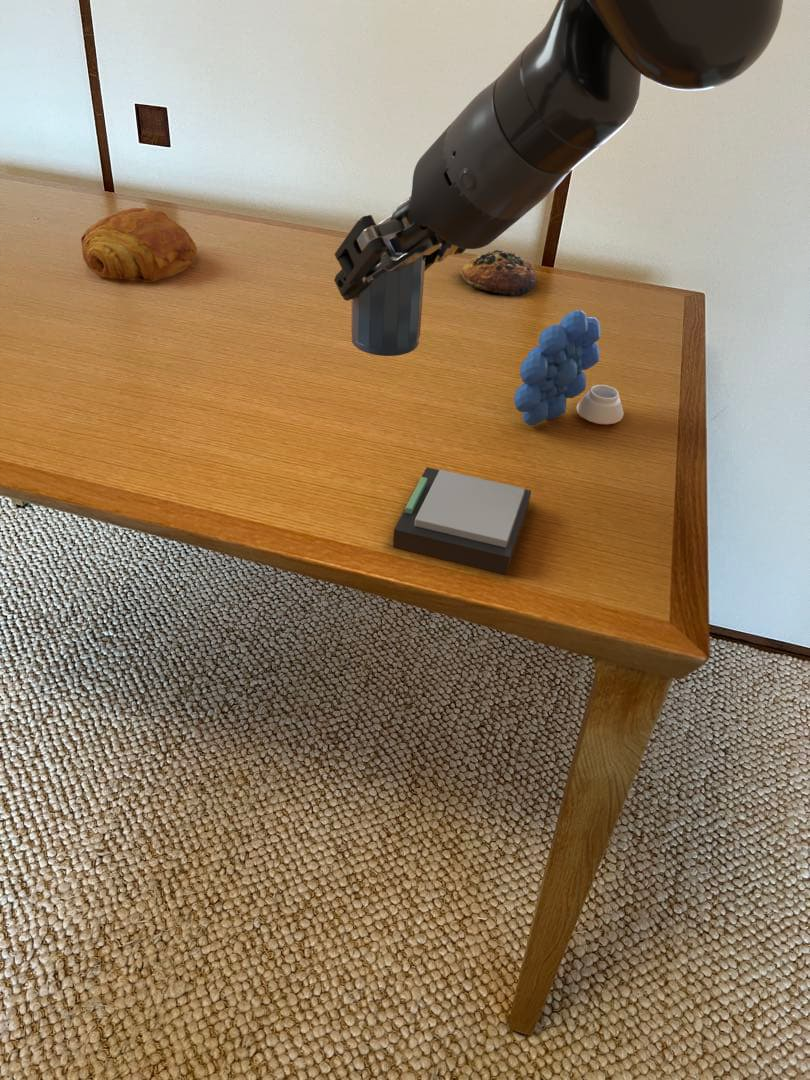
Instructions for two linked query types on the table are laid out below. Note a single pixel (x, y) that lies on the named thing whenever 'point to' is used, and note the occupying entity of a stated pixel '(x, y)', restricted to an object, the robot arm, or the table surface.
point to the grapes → (557, 367)
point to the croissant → (137, 246)
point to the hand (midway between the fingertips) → (374, 280)
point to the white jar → (601, 405)
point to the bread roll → (500, 273)
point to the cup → (390, 310)
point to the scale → (463, 520)
